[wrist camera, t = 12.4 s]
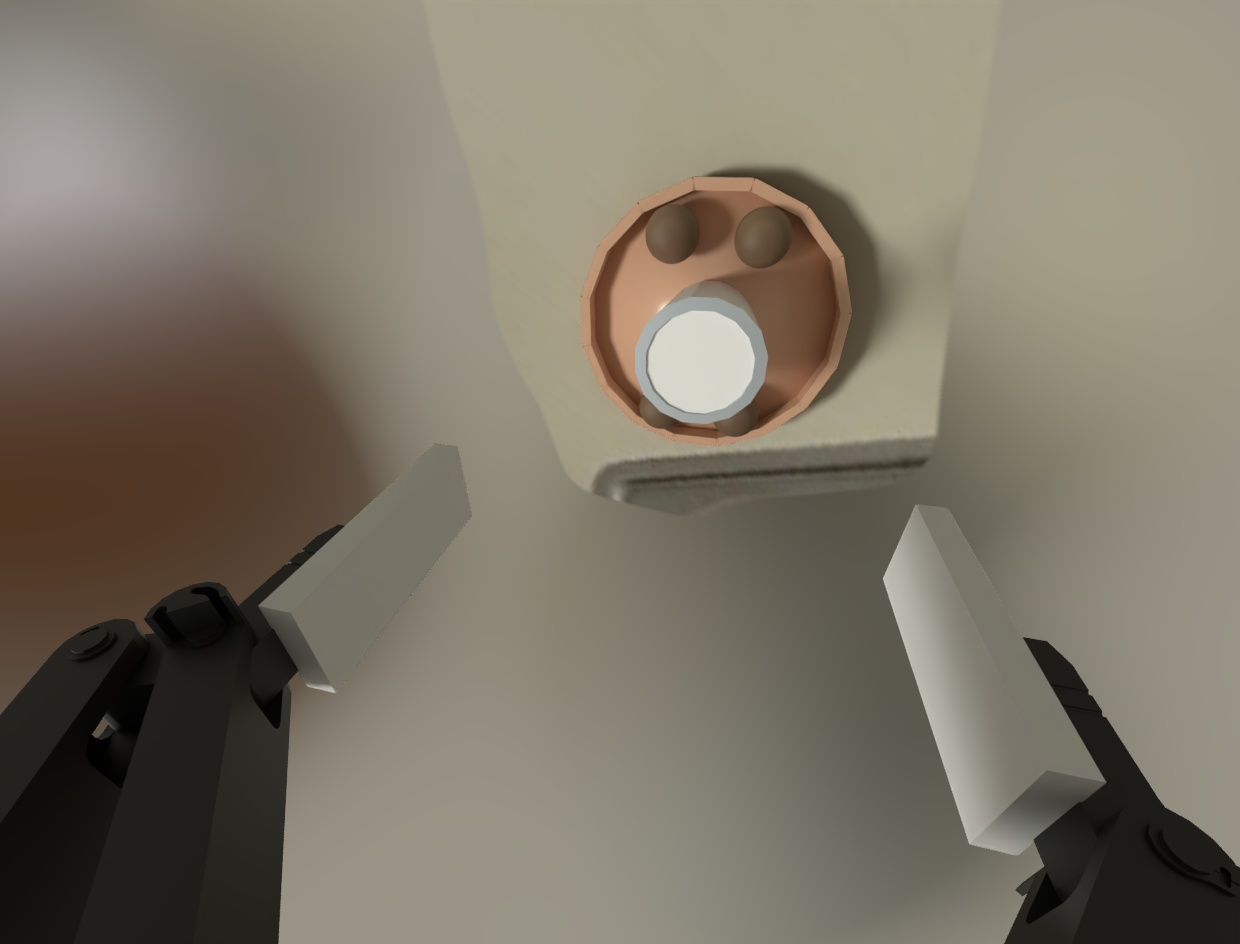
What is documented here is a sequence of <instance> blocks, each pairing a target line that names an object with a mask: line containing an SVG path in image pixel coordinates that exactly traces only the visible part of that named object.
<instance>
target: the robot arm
mask: <svg viewBox="0 0 1240 944" xmlns="http://www.w3.org/2000/svg"><path fill="white" fill-rule="evenodd" d="M471 516H472V512H471V508H470V503H469V498H468V494H467V489H466V484H465V479H464V475H463V470H462V465H461V461H460V456H459V452H458V447H457V446H452V445H444V444H436V443H435V444H434V445H433V446H432V447H431V448H430V449H428V450H427V451H426V452H425V453H424V454H423V455H422V456H421V457H420V458H419V459H418V460H416V462H415V463H413V464H412V465H411V466H410V467H409V468H408V469H407V470H406V471H405V472H404V473H402V474H401V475H400V476H399V477H398V478H397V479H396V480H395V481H394V482H393V483H391V484H390V485H389V486H388V487H387V488H386V489H385V490H384V491H383V492H382V493H381V494H379V495H378V496H377V497H376V498H375V499H374V500H373V501H372V502H371V503H370V504H369V505H367V506H366V507H365V508H364V509H363V510H362V511H361V512H360V513H359V514H358V515H357V516H356V517H354V518H353V519H352V520H351V521H350V522H349V523H348V524H347V525H346V526H342V525H337V526H335V527H333V528H331V529H330V530H328V531H326V532H324V533H322V534H321V535H318V536H317V537H316V538H315V539H314V540H312V541H311V542H310V543H309V544H308V545H307V546H306V547H305V548H303V549H302V551H301V553H298V554H297V555H295V556H294V557H293V558H292V559H291V560H290V561H289V562H288V565H284V566H283V567H282V568H281V569H280V570H278V571H277V572H276V573H275V574H274V575H273V576H272V577H270V578H269V579H268V580H267V581H266V582H265V583H264V584H263V585H261V586H260V587H259V588H258V589H257V590H256V591H255V592H254V593H252V594H251V595H250V596H249V597H248V598H247V599H246V600H244V601H243V602H242V603H241V604H240V605H239V606H238V605H237V604H236V602H235V601H234V599H233V598H232V596H231V595H230V593H229V592H228V590H227V588H226V587H224V586H223V585H221V584H220V583H213V582H205V583H199V584H193V585H191V586H188V587H185V588H183V589H180V590H177V591H176V592H174V593H172V594H170V595H169V596H167V597H165V598H163V599H162V600H161V601H160V602H159V603H157V604H156V605H155V606H154V607H153V608H151V610H150V611H149V612H148V614H147V616H146V617H145V618H144V620H145V621H146V623H147V624H148V625H149V626H150V627H151V629H152V630H153V631H154V632H155V633H153V634H144V633H143V632H142V631H141V629H140V628H139V627H138V626H137V625H136V623H135V622H132V621H130V620H128V619H114V620H110V621H107V622H103V623H99V624H97V625H94V626H92V627H90V628H87V629H85V630H83V631H81V632H79V633H78V634H76V635H75V636H73V637H72V638H70V639H68V640H67V641H66V642H64V643H63V644H62V645H61V646H60V647H59V648H58V649H57V650H56V651H55V652H54V653H53V654H52V655H51V656H50V657H49V659H48V660H47V661H46V662H45V663H44V664H43V666H42V667H41V668H40V669H39V670H38V672H37V673H36V674H35V675H34V676H33V677H32V678H31V680H30V681H29V682H28V683H27V684H26V685H25V687H24V688H23V689H22V690H21V691H20V693H19V694H18V695H17V696H16V697H15V698H14V700H13V701H12V702H11V703H10V704H9V705H8V707H7V708H6V709H5V710H4V711H3V712H2V714H1V715H0V944H278V939H279V920H280V919H279V918H280V900H281V881H282V862H283V844H284V843H283V842H284V823H285V804H286V785H287V767H288V765H287V764H288V747H289V728H290V709H291V690H290V687H289V684H288V682H289V680H290V679H291V678H292V677H293V676H294V675H295V674H296V673H297V671H298V672H299V674H300V675H301V677H302V678H303V680H304V682H305V683H306V685H307V686H309V687H312V688H317V689H321V690H325V691H329V692H334V693H337V691H338V690H339V689H340V687H341V686H342V685H343V683H344V682H345V681H346V679H347V678H348V677H349V676H350V674H351V673H352V671H353V670H354V669H355V668H356V666H357V665H358V664H359V662H360V661H361V660H362V658H363V657H364V656H365V655H366V653H367V652H368V651H369V649H370V648H371V647H372V646H373V644H374V643H375V642H376V640H377V639H378V638H379V636H380V635H381V634H382V632H383V631H384V630H385V629H386V627H387V626H388V625H389V623H390V622H391V621H392V619H393V618H394V617H395V615H396V614H397V613H398V612H399V610H400V609H401V608H402V606H403V605H404V604H405V602H406V601H407V600H408V599H409V597H410V596H411V595H412V593H413V592H414V591H415V589H416V588H417V587H418V586H419V584H420V583H421V582H422V580H423V579H424V578H425V576H426V575H427V573H428V572H429V571H430V570H431V568H432V567H433V566H434V565H435V563H436V562H437V561H438V559H439V558H440V557H441V556H442V554H443V553H444V552H445V550H446V549H447V548H448V546H449V545H450V544H451V542H452V541H453V540H454V539H455V537H456V536H457V535H458V533H459V532H460V531H461V529H462V528H463V527H464V526H465V524H466V523H467V522H468V520H469V519H470V518H471ZM883 580H884V583H885V587H886V589H887V593H888V596H889V599H890V602H891V605H892V608H893V611H894V614H895V617H896V620H897V623H898V626H899V630H900V633H901V635H902V638H903V641H904V645H905V648H906V651H907V654H908V657H909V660H910V663H911V666H912V669H913V672H914V676H915V678H916V682H917V685H918V688H919V691H920V694H921V697H922V700H923V703H924V706H925V709H926V712H927V715H928V719H929V721H930V725H931V727H932V731H933V734H934V737H935V740H936V743H937V746H938V749H939V752H940V755H941V758H942V761H943V765H944V768H945V771H946V774H947V777H948V780H949V783H950V786H951V789H952V792H953V795H954V798H955V801H956V804H957V808H958V811H959V813H960V817H961V820H962V823H963V826H964V829H965V832H966V835H967V838H968V841H969V844H970V845H975V846H979V847H983V848H987V849H991V850H995V851H1000V852H1004V853H1008V854H1013V855H1019V854H1020V853H1021V852H1022V851H1024V850H1025V849H1026V848H1027V847H1028V846H1030V845H1031V844H1032V843H1033V842H1035V845H1036V847H1037V850H1038V852H1039V854H1040V857H1041V859H1042V861H1043V864H1044V867H1043V868H1042V869H1040V870H1039V871H1038V872H1036V873H1035V874H1034V875H1032V876H1031V877H1030V878H1028V879H1027V880H1026V881H1024V882H1023V883H1022V884H1021V885H1020V886H1019V887H1018V888H1017V889H1016V891H1017V892H1018V893H1019V894H1021V895H1022V896H1024V895H1025V894H1026V893H1027V895H1026V898H1025V900H1024V902H1023V904H1022V906H1021V908H1020V911H1019V913H1018V915H1017V917H1016V919H1015V922H1014V924H1013V926H1012V928H1011V930H1010V932H1009V934H1008V937H1007V939H1006V941H1005V943H1004V944H1240V867H1238V866H1236V865H1235V863H1234V862H1233V860H1232V859H1231V858H1229V856H1228V855H1227V854H1226V853H1225V852H1224V851H1223V850H1222V848H1221V847H1220V846H1219V845H1218V844H1217V843H1216V842H1215V841H1214V840H1213V839H1212V838H1211V837H1209V836H1208V835H1207V834H1206V833H1204V832H1203V831H1202V830H1201V829H1199V828H1198V827H1197V826H1195V825H1194V824H1193V823H1192V822H1190V821H1189V820H1187V819H1185V818H1183V817H1182V816H1179V815H1178V814H1176V813H1174V812H1172V811H1171V810H1169V809H1167V808H1165V807H1164V805H1163V804H1162V803H1161V802H1160V800H1159V799H1158V797H1157V796H1156V794H1155V793H1154V791H1153V789H1152V788H1151V786H1150V785H1149V783H1148V782H1147V780H1146V779H1145V777H1144V776H1143V774H1142V773H1141V771H1140V770H1139V768H1138V766H1137V765H1136V763H1135V762H1134V760H1133V758H1132V757H1131V755H1130V754H1129V752H1128V751H1127V749H1126V748H1125V746H1124V744H1123V743H1122V741H1121V740H1120V738H1119V737H1118V735H1117V734H1116V732H1115V731H1114V729H1113V727H1112V726H1111V724H1110V723H1109V721H1108V720H1107V718H1106V717H1103V716H1102V710H1101V709H1100V707H1099V706H1098V704H1097V703H1096V701H1095V700H1094V698H1093V696H1091V695H1089V694H1088V689H1087V687H1086V685H1085V684H1084V682H1083V681H1082V679H1081V678H1080V676H1079V675H1078V673H1077V671H1076V670H1075V668H1074V667H1073V665H1072V664H1070V662H1068V661H1067V660H1066V659H1065V658H1064V657H1063V656H1062V655H1061V654H1060V653H1059V652H1058V651H1057V650H1055V648H1054V647H1052V646H1051V645H1050V644H1049V643H1048V642H1047V641H1041V640H1036V639H1030V638H1024V637H1022V636H1021V634H1020V632H1019V630H1018V629H1017V627H1016V625H1015V623H1014V622H1013V620H1012V618H1011V617H1010V615H1009V613H1008V611H1007V610H1006V608H1005V606H1004V604H1003V603H1002V601H1001V599H1000V597H999V596H998V594H997V592H996V591H995V589H994V587H993V585H992V584H991V582H990V580H989V578H988V577H987V575H986V573H985V571H984V570H983V568H982V566H981V565H980V563H979V561H978V559H977V558H976V556H975V554H974V552H973V551H972V549H971V547H970V545H969V544H968V542H967V540H966V539H965V537H964V535H963V533H962V532H961V530H960V528H959V527H958V525H957V523H956V521H955V519H954V518H953V516H952V514H951V513H950V511H949V509H948V508H942V507H934V506H926V505H918V504H916V505H915V508H914V510H913V512H912V515H911V517H910V519H909V521H908V523H907V526H906V528H905V530H904V532H903V535H902V537H901V539H900V542H899V544H898V546H897V548H896V551H895V553H894V555H893V557H892V560H891V562H890V564H889V566H888V569H887V571H886V573H885V575H884V578H883ZM101 720H104V721H105V722H106V723H107V724H108V726H107V727H106V729H105V730H104V732H103V733H102V734H101V735H100V736H99V737H98V738H95V737H94V736H93V735H92V733H93V732H94V730H95V729H96V727H97V726H98V724H99V723H100V721H101Z"/></svg>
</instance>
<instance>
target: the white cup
mask: <svg viewBox="0 0 1240 944" xmlns="http://www.w3.org/2000/svg"><path fill="white" fill-rule="evenodd" d="M767 361H768V354H767V350H766V346H765V343H764V339H763V335H762V332H761V329H760V327H759V325H758V322H757V320H756V318H755V316H754V314H753V311H752V309H751V307H750V305H749V303H748V301H747V300H746V299H745V298H744V297H743V295H742V294H741V293H740V292H739V291H738V289H736V288H734V287H732V286H730V285H728V284H726V283H724V282H722V281H700V282H697V283H695V284H692V285H690V286H687V287H685V288H684V289H683V290H682V291H681V292H680V293H679V294H677V295H676V296H675V297H674V298H673V299H672V300H671V301H670V302H669V303H668V304H667V305H666V306H665V307H664V308H662V309H661V310H660V311H659V312H658V313H657V314H656V315H655V316H654V317H653V318H652V319H651V320H650V321H649V322H648V323H647V324H646V325H645V326H644V329H643V331H642V333H641V336H640V338H639V340H638V343H637V345H636V347H635V374H636V377H637V379H638V382H639V384H640V386H641V389H642V391H643V394H644V395H645V396H646V397H647V398H648V399H649V401H650V402H651V403H652V404H653V405H654V406H655V407H656V408H657V409H658V410H659V411H660V412H662V413H664V414H666V415H668V416H670V417H673V418H675V419H677V420H679V421H681V422H688V423H699V424H708V423H712V422H716V421H720V420H723V419H727V418H730V417H732V416H733V415H735V414H736V413H737V412H739V411H740V410H742V409H743V408H744V407H746V406H747V405H749V404H750V403H751V401H752V400H753V398H754V397H755V395H756V394H757V392H758V391H759V389H760V387H761V386H762V384H763V383H764V379H765V373H766V367H767Z"/></svg>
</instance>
